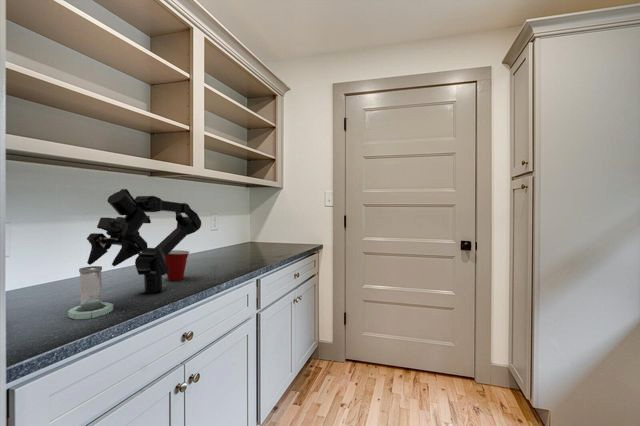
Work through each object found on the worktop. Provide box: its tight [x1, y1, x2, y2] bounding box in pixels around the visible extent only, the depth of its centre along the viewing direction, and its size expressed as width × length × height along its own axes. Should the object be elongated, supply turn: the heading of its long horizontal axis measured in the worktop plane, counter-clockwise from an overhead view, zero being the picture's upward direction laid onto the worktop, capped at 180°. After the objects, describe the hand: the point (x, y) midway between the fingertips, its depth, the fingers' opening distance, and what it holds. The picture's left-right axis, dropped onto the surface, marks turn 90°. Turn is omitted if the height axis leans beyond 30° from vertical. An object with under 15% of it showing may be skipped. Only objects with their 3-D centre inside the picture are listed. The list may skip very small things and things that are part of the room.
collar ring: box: [67, 301, 114, 320], centre depth 94 cm, size 10×10×2 cm
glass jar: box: [78, 265, 103, 312], centre depth 94 cm, size 5×5×13 cm
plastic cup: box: [165, 249, 191, 282], centre depth 135 cm, size 11×11×12 cm
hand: (100, 264), depth 97 cm, fingers open, 9 cm apart
